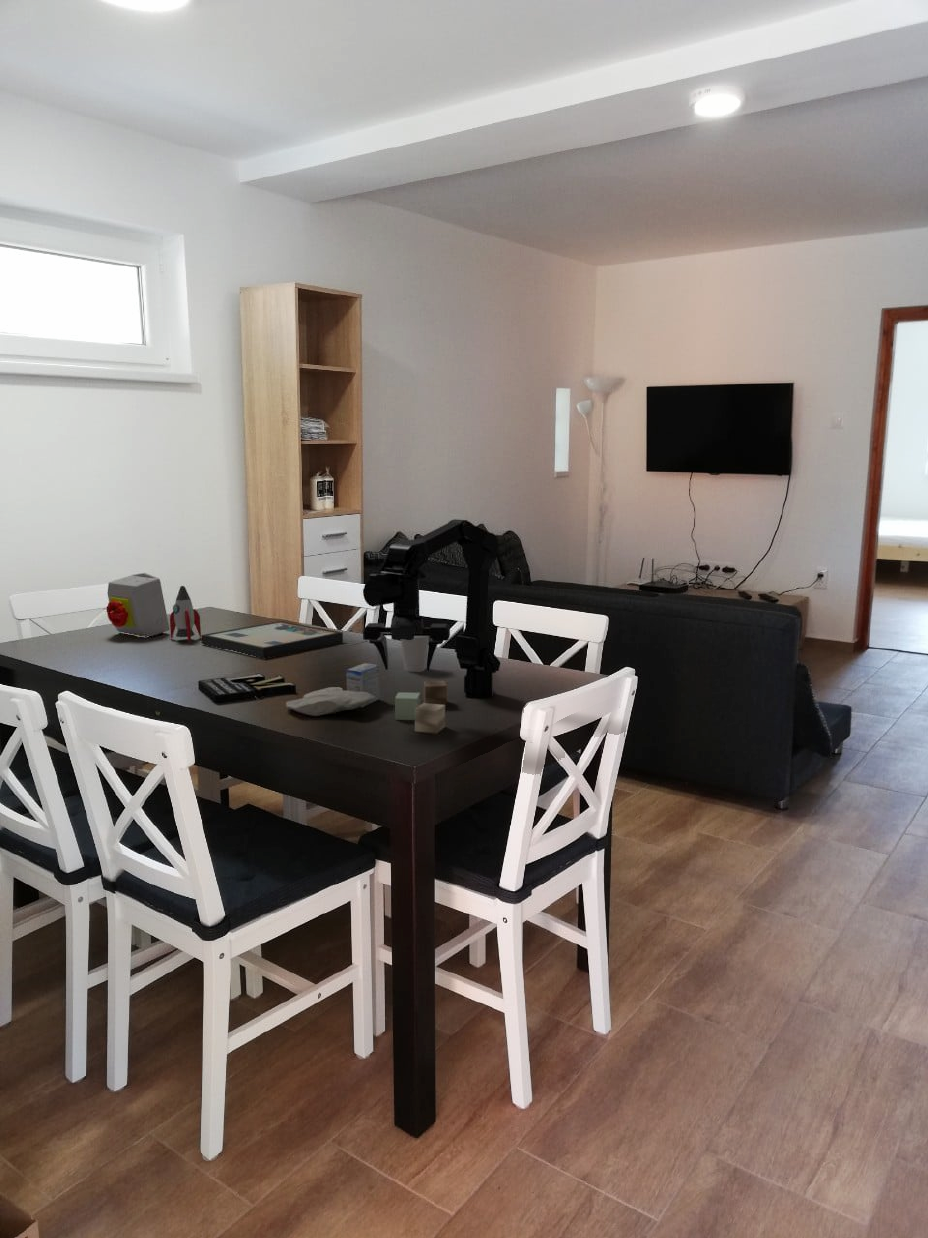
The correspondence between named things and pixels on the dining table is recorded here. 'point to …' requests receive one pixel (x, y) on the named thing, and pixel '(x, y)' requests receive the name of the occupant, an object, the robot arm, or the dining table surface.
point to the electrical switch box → (137, 605)
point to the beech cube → (429, 718)
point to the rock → (329, 701)
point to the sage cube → (406, 705)
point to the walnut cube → (435, 692)
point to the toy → (184, 616)
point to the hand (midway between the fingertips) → (407, 669)
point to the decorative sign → (244, 688)
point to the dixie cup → (415, 653)
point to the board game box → (273, 639)
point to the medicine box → (364, 680)
